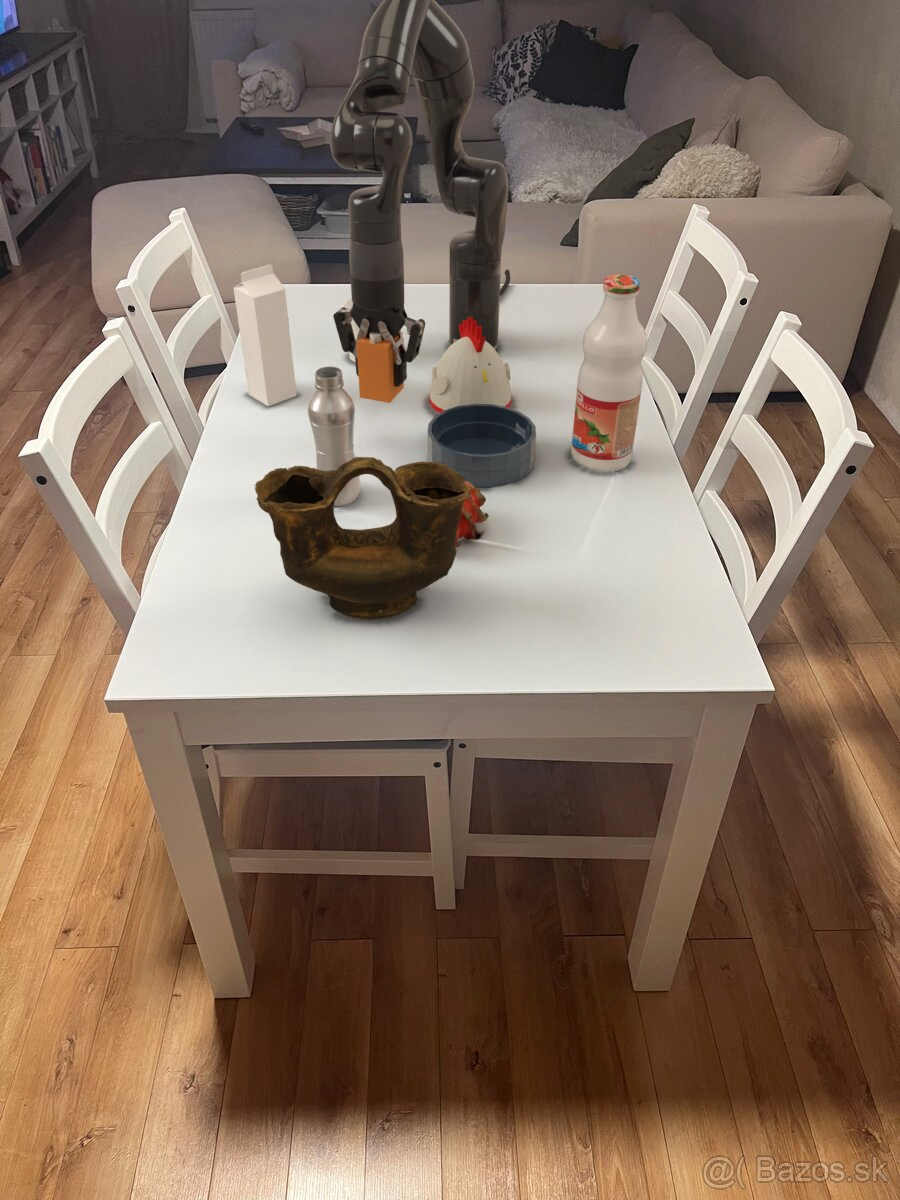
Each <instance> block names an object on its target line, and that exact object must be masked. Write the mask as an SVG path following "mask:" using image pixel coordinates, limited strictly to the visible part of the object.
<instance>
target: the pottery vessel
mask: <svg viewBox="0 0 900 1200" xmlns="http://www.w3.org/2000/svg"><path fill="white" fill-rule="evenodd" d="M363 475H372V476H373V477H375V478H377V479H378V480H379V481H380V482H381V484H382V485H383V486H384V487H385V488H386V489H387V490H389V492H390V494H391V498H392V501H393V505H394V508H395V519H394V520H393V521H392V522H391V523H390V524H388V525H385V526H379V527H372V528H364V529H355V528H343V527H342V526H341V525H339V524H338V521H337V519H336V517H335V510H334V509H335V506H334V502H335V500H336V499H337V497H338V495H339V493H340V492H341V491H342V490H343V488H344V487H345V486H346V484H347V483H348V482H349V481H350V480H351V479H353V478H355V477H358V476H359V477H360V476H363ZM254 490H255V493H256V498H255V499H256V501H257V504H258V507H259V508H260V509H261V510H262V511H264V512H265V513H267V514H268V515H269V517H270V519H271V522H272V527H273V528H272V529H273V534H274V537H275V539H276V540H277V542H278V543H279V546H280V548H279V549H280V551H279V555H280V557H281V561H282V564H283V565H282V566H283V570H284V574H285V575H286V576H287V578H288V579H290V580H292V581H293V582H295V583H297V584H299V585H301V586H303V587H305V588H307V589H311V590H313V591H316V592H318V593H322V594H325V595H326V596H328V599H329V602H328V603H329V606H330V607H331V609H332V610H333V611H335V612H338V613H340V614H342V615H343V616H345V617H350V618H352V619H359V620H378V619H380V620H381V619H389V618H394V617H397V616H398V615H400V614H402V613H404V612H406V611H409V610H410V609H411V608H412V607H414V606H416V605H417V604H418V600H419V596H418V592H419V591H422V590H425V589H426V588H428V587H430V586H431V585H433V584H434V583H436V582H438V581H439V580H441V579H442V578H444V577H446V576H448V574H449V572H450V571H451V569H452V567H453V565H454V562H455V559H456V556H457V554H458V553H457V548H456V547H455V538H456V533H457V529H458V525H459V521H460V518H461V516H462V515H461V511H462V506H463V503H464V501H465V499H466V498H468V497H469V493H470V491H471V489H470V487H469V486H467V485H466V484H465V477H464V476H461V475H460V474H459V473H458V472H456V471H454V470H452V469H451V468H449V467H448V466H447V465H445V464H441V463H439V462H428V461H416V462H410V463H407V464H403V465H399V466H398V467H396V468H395V469H393V468H392V467H391V466H388V465H386V464H385V463H384V462H383V461H382V459H377V458H375V457H374V456H373V457H372V456H355V458H353V459H351V460H350V461H348V462H346V463H344V464H342V465H341V466H340V467H339V468H338V469H337V470H330V471H322V470H318V469H317V468H315V467H310V466H307V465H306V466H305V465H294V466H291V467H284V468H282V467H279V468H274V469H273V470H270V471H268V473H267V474H264V476H263V478H262V479H260V480H257V481H256V483H255V484H254Z"/></svg>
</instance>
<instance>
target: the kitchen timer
mask: <svg viewBox="0 0 900 1200" xmlns="http://www.w3.org/2000/svg"><path fill="white" fill-rule="evenodd" d="M459 329H460V336H461V339H459V340H457V341H456V342H454V343H453V344H452V345H451V346H450V347H449V346H448V348H447V349H446V350H445V352H444V353H443V355H442V356H441V357H440V359H439V361H438V363H437V365H436V366H432V371H431V379H430V381H431V382H430V387H429V404H430V406H431V408H432V409H433V410H435V411H436V412H437V413H438V414H439V413H441V412H443V411H444V410H447V409H450V408H453V407H457V406H461V405H469V404H492V405H498V406H504V407H508V408H510V407H511V404H512V390H511V384H510V381H511V378H512V377H511V370H510V369H511V368H510V365H509V363H508V362H505V363H504V361H503V359H502V358H501V356H500V354H499V353H498V352H497V351H495V349H494V348H493V347H492V346H491V345H490V344H489V343H488V342H486V341H485V338H486V337H482V326H478V327H477V321H473V317H469V318H467V320H465V321H463V324H459Z"/></svg>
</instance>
